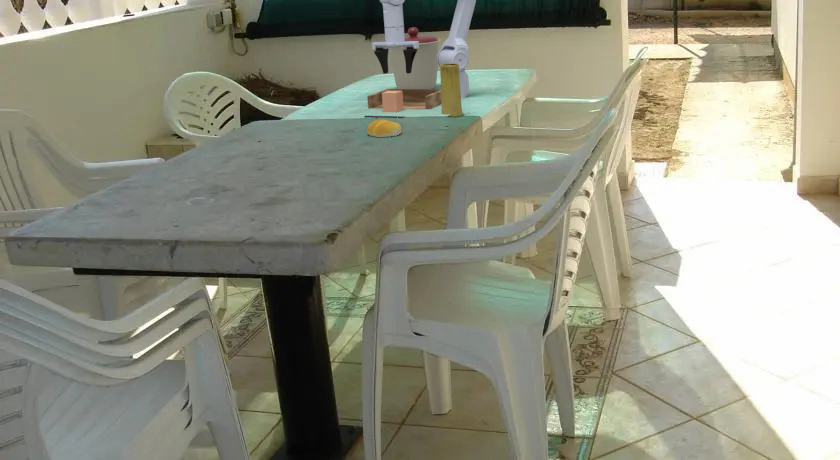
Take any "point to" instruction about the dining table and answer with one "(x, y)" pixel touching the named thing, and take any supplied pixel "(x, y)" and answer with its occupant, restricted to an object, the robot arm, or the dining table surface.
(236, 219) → the dining table surface
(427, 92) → the crate
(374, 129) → the bread roll
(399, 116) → the mat
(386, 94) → the block
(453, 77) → the vase
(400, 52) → the canister
